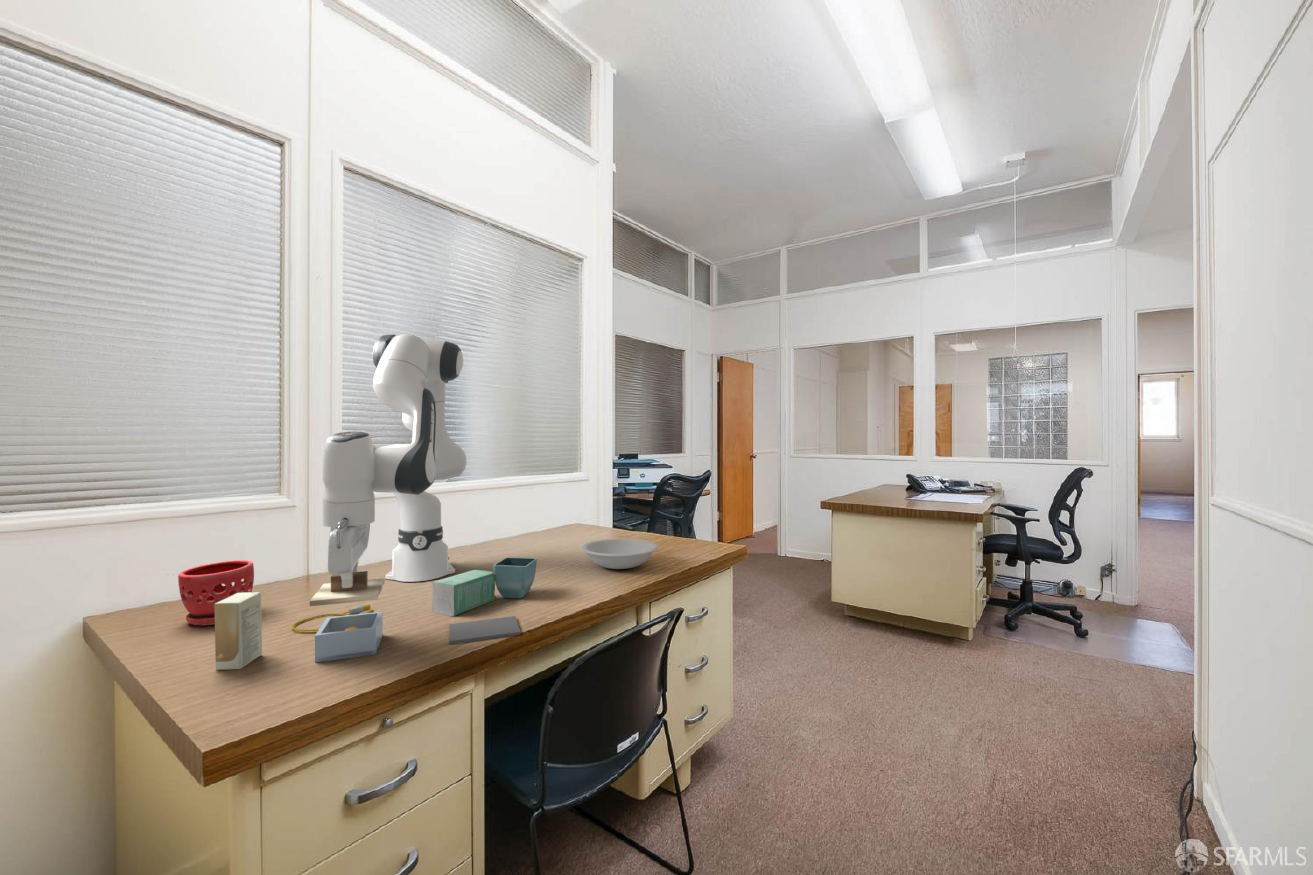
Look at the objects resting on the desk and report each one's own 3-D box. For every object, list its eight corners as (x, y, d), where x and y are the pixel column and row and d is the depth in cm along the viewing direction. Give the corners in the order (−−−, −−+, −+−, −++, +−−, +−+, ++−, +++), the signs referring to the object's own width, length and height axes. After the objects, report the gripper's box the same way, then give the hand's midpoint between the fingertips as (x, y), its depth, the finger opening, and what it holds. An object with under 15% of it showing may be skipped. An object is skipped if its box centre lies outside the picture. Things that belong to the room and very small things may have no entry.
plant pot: (235, 605, 127) (235, 557, 127) (266, 614, 121) (265, 563, 121) (166, 623, 115) (166, 569, 115) (197, 634, 109) (196, 577, 109)
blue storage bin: (327, 642, 105) (327, 617, 105) (382, 635, 109) (382, 611, 109) (314, 662, 96) (314, 635, 96) (376, 654, 100) (375, 628, 100)
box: (496, 600, 132) (495, 570, 132) (454, 617, 120) (454, 585, 120) (474, 596, 135) (474, 567, 135) (431, 612, 123) (431, 581, 123)
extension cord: (372, 627, 115) (372, 618, 115) (286, 639, 108) (286, 630, 108) (375, 610, 126) (375, 602, 126) (297, 620, 119) (297, 611, 119)
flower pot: (537, 591, 139) (537, 557, 139) (526, 601, 131) (526, 566, 131) (506, 589, 140) (506, 556, 140) (492, 600, 132) (492, 565, 131)
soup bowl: (628, 582, 148) (628, 558, 148) (565, 569, 161) (565, 548, 161) (672, 564, 168) (672, 543, 168) (613, 554, 181) (613, 535, 181)
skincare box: (239, 655, 99) (238, 591, 99) (263, 654, 99) (262, 591, 99) (213, 671, 93) (212, 602, 92) (239, 670, 93) (238, 602, 93)
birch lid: (323, 588, 106) (323, 568, 106) (384, 583, 110) (384, 564, 110) (309, 606, 96) (309, 584, 96) (377, 599, 100) (376, 579, 99)
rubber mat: (449, 626, 114) (449, 624, 114) (515, 618, 119) (515, 615, 119) (449, 644, 104) (449, 641, 104) (520, 634, 110) (520, 631, 110)
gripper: (358, 523, 94) (358, 599, 94) (374, 505, 113) (375, 569, 113) (317, 525, 91) (317, 603, 92) (341, 507, 111) (341, 571, 111)
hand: (349, 584), depth 103 cm, fingers closed on birch lid, 2 cm apart
